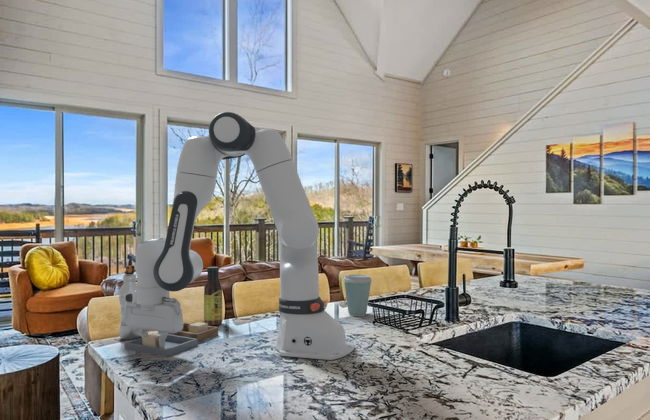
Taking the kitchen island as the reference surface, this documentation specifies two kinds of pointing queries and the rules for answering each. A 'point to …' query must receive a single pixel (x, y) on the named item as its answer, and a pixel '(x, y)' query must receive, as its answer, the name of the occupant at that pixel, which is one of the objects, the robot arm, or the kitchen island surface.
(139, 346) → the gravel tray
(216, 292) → the sauce bottle
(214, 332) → the brown rectangular tray
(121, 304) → the plastic bottle
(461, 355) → the kitchen island surface
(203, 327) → the cream matte cube
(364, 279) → the disposable coffee cup
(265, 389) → the kitchen island surface
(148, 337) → the beige cube
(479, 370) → the kitchen island surface
